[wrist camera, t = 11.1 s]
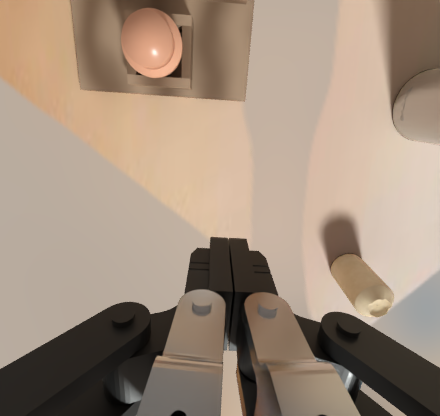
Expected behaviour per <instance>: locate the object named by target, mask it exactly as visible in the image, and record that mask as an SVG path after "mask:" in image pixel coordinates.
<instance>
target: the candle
mask: <svg viewBox="0 0 440 416" xmlns="http://www.w3.org/2000/svg"><path fill="white" fill-rule="evenodd" d="M331 273H332V276H333V277H334V279H335V280H336V282H337V283H338V285H339V286H340V288H341V289H342V290H343V292H344V293H345V295H346V296H347V298H348V299H349V301H350V302H351V303H352V305H353V306H354V308H355V309H356V311H357V312H358V313H359V314H361V315H363V316H368V317H380V316H383V315H385V314H387V312H388V310H389V309H390V308H391V307H392V304H393V301H394V294H393V292H392V290H391V289H390V288H389V287H388V286H387V285H386V284H385V283H384V282H383V281H382V280H381V279H380V278H379V277H378V275H377V274H376V273H375V272H374V271H373V270H372V269H371V268H370V267H369V266H368V265H367V264H366V263H365V262H364V261H363V260H362V259H361V258H360V257H358V256H357V255H354V254H344V255H341V256H340V257H338V258H337V259H336V260H335V261H334V262H333V264H332V266H331Z"/></svg>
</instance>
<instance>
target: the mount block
mask: <svg viewBox="0 0 440 416" xmlns="http://www.w3.org/2000/svg"><path fill="white" fill-rule="evenodd" d="M71 7H72V16H73V26H74V35H75V45H76V54H77V63H78V73H79V82H80V89H81V90H90V91H104V92H118V93H132V94H146V95H160V96H174V97H188V98H202V99H217V100H231V101H245V97H246V86H247V75H248V64H249V52H250V42H251V31H252V20H253V9H254V0H71ZM142 8H155V9H158V10H160V11H163V12H164V13H166V14H167V15H168V16H169V17H170V18H171V19H172V20H173V21H174V23H175V24H176V26H177V28H178V30H179V32H180V34H181V38H182V43H183V53H182V58H181V61H180V63H179V65H178V66H177V68H176V69H175V70H174V71H173V72H172V73H171V74H169V75H167V76H165V77H162V78H150V77H147V76H145V75H142V74H140V73H139V72H137V71H136V70H135V69H134V68H133V67H132V66H131V65H130V64H129V63H128V61H127V60H126V58H125V56H124V53H123V50H122V45H121V34H122V28H123V25H124V22H125V20H126V19H127V18H128V16H129V15H130V14H132V13H133V12H135V11H137V10H139V9H142Z"/></svg>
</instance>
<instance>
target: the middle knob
mask: <svg viewBox="0 0 440 416" xmlns="http://www.w3.org/2000/svg"><path fill="white" fill-rule="evenodd" d="M121 45H122V50H123V53H124V56H125V58H126V60H127V61H128V63H129V64H130V65H131V66H132V67H133V68H134V69H135V70H136V71H137V72H139V73H140V74H142V75H145V76H147V77H150V78H162V77H165V76H167V75H169V74H171V73H172V72H173V71H174V70H175V69H176V68H177V66H178V65H179V63H180V61H181V58H182V53H183V43H182V38H181V34H180V32H179V30H178V28H177V26H176V24H175V23H174V21H173V20H172V19H171V18H170V17H169V16H168V15H167V14H166V13H164V12H163V11H160V10H158V9H155V8H142V9H139V10H137V11H135V12H133V13H132V14H130V15H129V16H128V18H127V19H126V20H125V22H124V25H123V28H122V34H121Z"/></svg>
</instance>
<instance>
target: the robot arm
mask: <svg viewBox="0 0 440 416" xmlns="http://www.w3.org/2000/svg"><path fill="white" fill-rule="evenodd" d="M393 121H394V125H395V127H396V129H397V131H398V132H399V133H400V134H401V135H402V136H403V137H405V138H407V139H409V140H413V141H418V142H424V143H430V144H435V145H440V68H436V69H431V70H427V71H424V72H421V73H419V74H417V75H416V76H414V77H413V78H412V79H410V80H409V81H408V82H407V83H406V84H405V85H404V87H403V88H402V89H401V91H400V92H399V94H398V96H397V98H396V101H395V103H394V108H393ZM227 344H229V350H230V351H237V368H236V377H237V383H238V390H239V396H240V403H241V409H242V415H243V416H392V415H391V414H390V413H389V412H387V411H386V410H385V409H384V408H382V407H381V406H380V405H379V404H377V403H376V402H375V401H374V400H372V399H371V398H370V397H368V396H367V395H366V394H365V393H363V392H362V391H361V390H360V388H361V384H362V382H364V383H365V384H366V385H368V386H369V387H370V388H372V389H373V390H374V391H375V392H377V393H378V394H379V395H381V396H382V397H383V398H385V399H386V400H387V401H388V402H390V403H391V404H392V405H394V406H395V407H396V408H398V409H399V410H400V411H401V412H403V413H404V414H405V415H407V416H440V368H439V367H437V366H436V365H434V364H432V363H431V362H429V361H427V360H426V359H424V358H422V357H421V356H419V355H417V354H416V353H414V352H413V351H411V350H409V349H407V348H406V347H404V346H403V345H401V344H399V343H398V342H396V341H394V340H393V339H391V338H390V337H388V336H386V335H385V334H383V333H381V332H380V331H378V330H376V329H375V328H373V327H371V326H370V325H368V324H367V323H365V322H363V321H362V320H360V319H358V318H356V317H354V316H352V315H350V314H347V313H342V312H330V313H327V314H325V315H324V316H323V318H322V320H321V323H320V322H317V321H313V320H310V319H306V318H303V317H300V316H298V315H295V314H294V313H293V312H292V310H291V308H290V306H289V304H288V303H287V302H286V301H285V300H284V299H282V298H280V297H279V296H278V293H277V290H276V287H275V284H274V281H273V278H272V275H271V274H270V269H269V267H268V263H267V260H266V258H265V257H264V256H263V255H262V254H261V253H260V252H259V251H249V248H248V243H247V239H240V238H229V240H228V238H220V237H211V238H210V249H207V248H197V249H196V250H195V251H194V252H193V253H192V254H191V257H190V264H189V270H188V275H187V282H186V288H185V294H184V295H183V296H182V297H181V298H180V300H179V303H178V305H177V306H175V307H174V308H172V309H170V310H167V311H164V312H160V313H155V314H150V312H149V310H148V309H147V308H146V307H145V306H144V305H142V304H139V303H135V302H123V303H119V304H116V305H113V306H111V307H109V308H107V309H105V310H103V311H102V312H100V313H98V314H96V315H95V316H93V317H91V318H90V319H88V320H86V321H84V322H82V323H81V324H79V325H77V326H75V327H74V328H72V329H70V330H68V331H67V332H65V333H63V334H61V335H60V336H58V337H56V338H54V339H52V340H51V341H49V342H47V343H45V344H44V345H42V346H40V347H38V348H37V349H35V350H33V351H32V352H30V353H28V354H26V355H25V356H23V357H21V358H19V359H17V360H16V361H14V362H12V363H10V364H9V365H7V366H5V367H3V368H1V369H0V416H220V415H221V397H222V396H221V395H222V377H223V351H224V350H227Z"/></svg>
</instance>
